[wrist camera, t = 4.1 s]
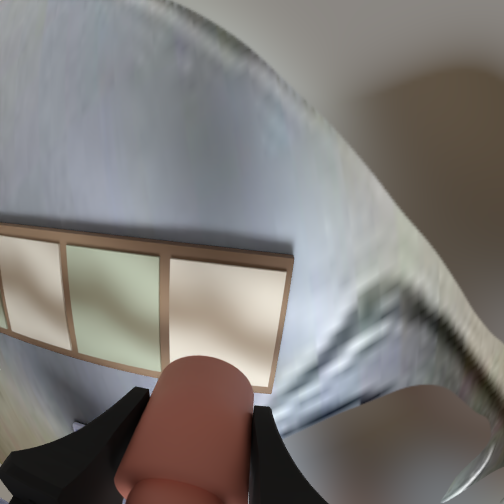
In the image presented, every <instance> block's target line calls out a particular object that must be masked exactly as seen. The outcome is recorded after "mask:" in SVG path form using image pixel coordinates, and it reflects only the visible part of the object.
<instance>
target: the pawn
mask: <svg viewBox="0 0 504 504" xmlns="http://www.w3.org/2000/svg"><path fill="white" fill-rule="evenodd" d="M253 401H254V393H253V389H252V386H251V384H250V382H249V380H248V379H247V377H246V376H245V375H244V374H243V373H242V372H241V371H240V370H239V369H238V368H236V367H235V366H233V365H231V364H230V363H228V362H226V361H223V360H221V359H218V358H214V357H209V356H201V355H193V356H186V357H182V358H179V359H177V360H175V361H173V362H171V363H170V364H169V365H167V366H166V367H165V369H164V370H163V371H162V373H161V375H160V377H159V379H158V382H157V384H156V386H155V388H154V390H153V392H152V394H151V397H150V399H149V401H148V403H147V405H146V407H145V410H144V412H143V414H142V416H141V418H140V420H139V423H138V425H137V427H136V429H135V431H134V434H133V436H132V438H131V440H130V443H129V445H128V447H127V449H126V452H125V454H124V456H123V458H122V461H121V463H120V465H119V467H118V470H117V472H116V474H115V477H114V483H115V486H116V488H117V490H118V491H119V493H120V494H121V495H122V496H123V497H124V498H125V499H126V502H125V504H248V492H249V474H250V457H251V439H252V417H253Z"/></svg>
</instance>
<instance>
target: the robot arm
mask: <svg viewBox="0 0 504 504" xmlns="http://www.w3.org/2000/svg"><path fill="white" fill-rule="evenodd" d="M149 399H150V394H149V389H145V388H141V387H134V388H133V389H132V390H131V391H129V392H128V393H127V394H126V395H125V396H124V397H123V398H121V399H120V400H119V401H118V402H117V403H116V404H114V405H113V406H112V407H111V408H109V409H108V410H107V411H106V412H104V413H103V414H102V415H100V416H99V417H97V418H96V419H94V420H93V421H92V422H90V423H89V424H87V425H83V424H80V423H78V422H74V424H73V428H74V431H75V432H73V433H71V434H69V435H67V436H65V437H63V438H60V439H58V440H56V441H53V442H50V443H47V444H44V445H41V446H38V447H34V448H30V449H25V450H19V451H13V452H11V453H10V455H9V456H8V457H7V458H6V460H5V461H4V463H3V464H2V465H1V467H0V479H1V481H2V482H3V483H4V485H5V486H6V487H7V488H8V490H9V491H10V492H11V494H12V495H13V497H12V499H11V501H10V502H9V503H8V502H7V501H5V500H3V499H2V498H0V504H125V502H126V499H125V498H124V497H123V496H122V495H121V494H120V493H119V491H118V490H117V488H116V486H115V483H114V477H115V474H116V472H117V470H118V467H119V465H120V463H121V461H122V458H123V456H124V454H125V452H126V449H127V447H128V445H129V443H130V440H131V438H132V436H133V434H134V431H135V429H136V427H137V425H138V423H139V420H140V418H141V416H142V414H143V412H144V410H145V407H146V405H147V403H148V401H149ZM249 504H328V503H327V502H326V501H325V500H324V499H323V498H322V497H321V496H320V495H319V494H318V493H317V492H316V490H315V489H314V488H313V487H312V486H311V485H310V484H309V482H308V481H307V480H306V478H305V477H304V476H303V475H302V473H301V472H300V470H299V469H298V468H297V466H296V464H295V463H294V461H293V459H292V458H291V456H290V454H289V453H288V451H287V449H286V447H285V445H284V443H283V441H282V438H281V436H280V434H279V432H278V429H277V426H276V424H275V421H274V418H273V414H272V410H271V408H270V407H266V406H255V405H254V410H253V417H252V439H251V457H250V474H249Z"/></svg>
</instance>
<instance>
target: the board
mask: <svg viewBox="0 0 504 504" xmlns="http://www.w3.org/2000/svg"><path fill="white" fill-rule="evenodd" d="M293 264H294V256H293V255H288V254H280V253H271V252H262V251H253V250H244V249H235V248H226V247H218V246H209V245H200V244H191V243H182V242H173V241H164V240H155V239H146V238H137V237H128V236H119V235H110V234H101V233H92V232H83V231H74V230H65V229H56V228H47V227H38V226H29V225H20V224H10V223H1V222H0V332H1V333H4V334H6V335H9V336H11V337H14V338H17V339H19V340H22V341H25V342H27V343H30V344H33V345H36V346H39V347H42V348H45V349H48V350H51V351H54V352H57V353H60V354H63V355H67V356H70V357H73V358H77V359H80V360H84V361H87V362H91V363H95V364H98V365H102V366H106V367H110V368H114V369H118V370H122V371H126V372H131V373H135V374H140V375H144V376H149V377H154V378H159V377H160V375H161V373H162V371H163V370H164V369H165V367H166V366H167V365H169V364H170V363H171V362H173V361H175V360H177V359H179V358H182V357H186V356H193V355H201V356H209V357H214V358H218V359H221V360H223V361H226V362H228V363H230V364H231V365H233V366H235V367H236V368H238V369H239V370H240V371H241V372H242V373H243V374H244V375H245V376H246V377H247V379H248V380H249V382H250V384H251V386H252V389H253V392H254V393H265V394H271V393H272V388H273V382H274V377H275V372H276V366H277V361H278V355H279V350H280V344H281V338H282V332H283V327H284V321H285V315H286V309H287V302H288V296H289V290H290V284H291V277H292V271H293Z"/></svg>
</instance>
